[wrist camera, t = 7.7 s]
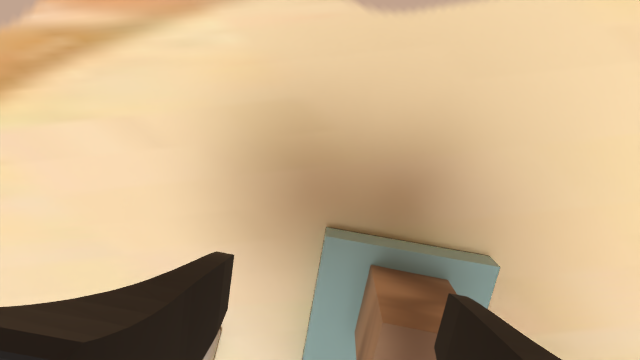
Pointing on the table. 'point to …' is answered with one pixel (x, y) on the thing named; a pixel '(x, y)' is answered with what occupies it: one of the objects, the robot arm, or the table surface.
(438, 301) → the walnut block
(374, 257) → the base board
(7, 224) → the table surface
